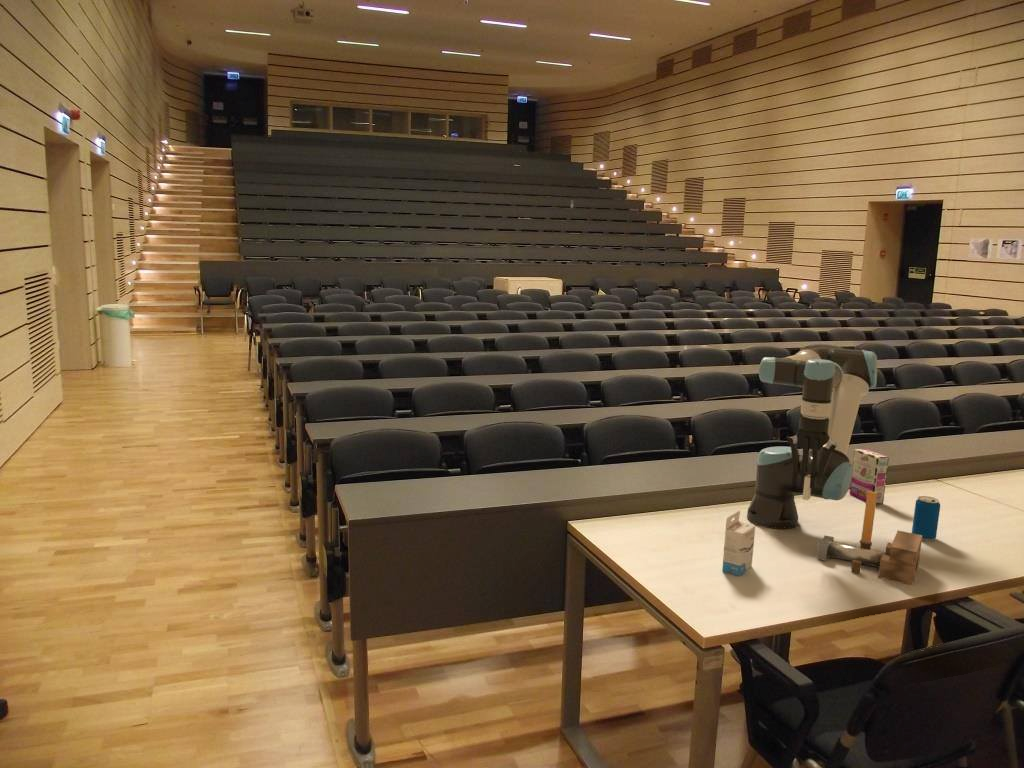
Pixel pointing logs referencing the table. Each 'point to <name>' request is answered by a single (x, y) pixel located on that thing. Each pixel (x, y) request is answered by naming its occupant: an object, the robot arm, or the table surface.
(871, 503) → the bar
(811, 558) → the table surface
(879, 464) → the candy bar box
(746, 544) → the ink box
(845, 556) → the pin
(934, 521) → the beverage can
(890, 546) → the hitch block
